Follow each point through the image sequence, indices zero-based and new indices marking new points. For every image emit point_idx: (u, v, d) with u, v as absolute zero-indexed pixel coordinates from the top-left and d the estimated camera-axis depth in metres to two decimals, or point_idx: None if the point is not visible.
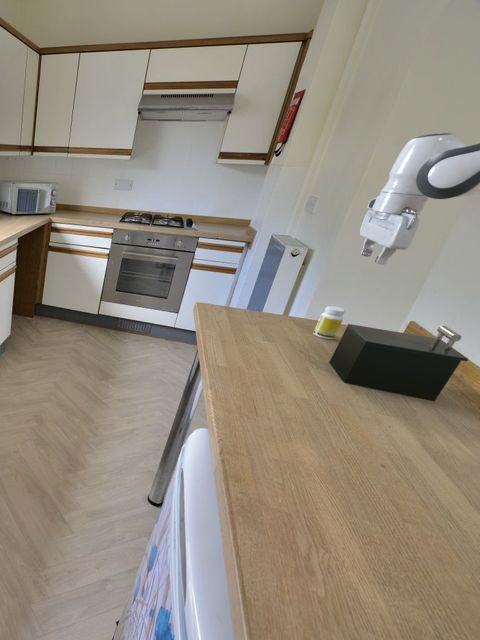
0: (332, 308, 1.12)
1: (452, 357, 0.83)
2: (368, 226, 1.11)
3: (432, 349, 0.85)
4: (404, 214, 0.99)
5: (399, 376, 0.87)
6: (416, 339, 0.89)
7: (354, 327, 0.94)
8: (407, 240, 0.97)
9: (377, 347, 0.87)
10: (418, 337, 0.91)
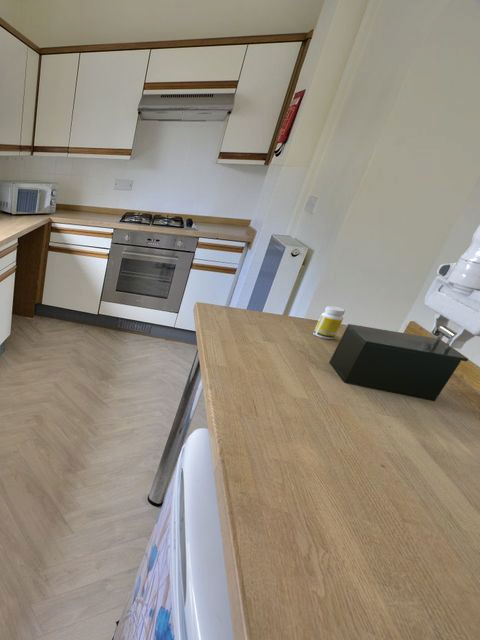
0: (332, 308, 1.12)
1: (452, 357, 0.83)
2: (438, 297, 0.88)
3: (432, 349, 0.85)
4: None
5: (399, 376, 0.87)
6: (416, 339, 0.89)
7: (354, 327, 0.94)
8: None
9: (377, 347, 0.87)
10: (418, 337, 0.91)
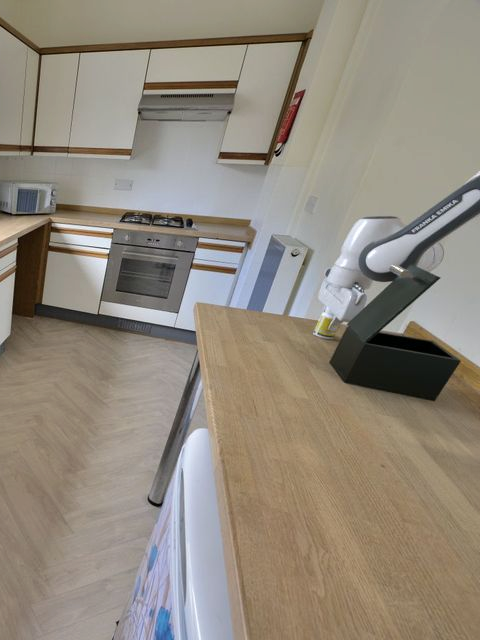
0: None
1: (427, 287, 0.80)
2: (325, 293, 1.16)
3: (410, 293, 0.83)
4: (354, 289, 1.04)
5: (399, 376, 0.87)
6: (395, 288, 0.88)
7: (351, 325, 0.94)
8: None
9: (377, 347, 0.87)
10: (396, 282, 0.88)
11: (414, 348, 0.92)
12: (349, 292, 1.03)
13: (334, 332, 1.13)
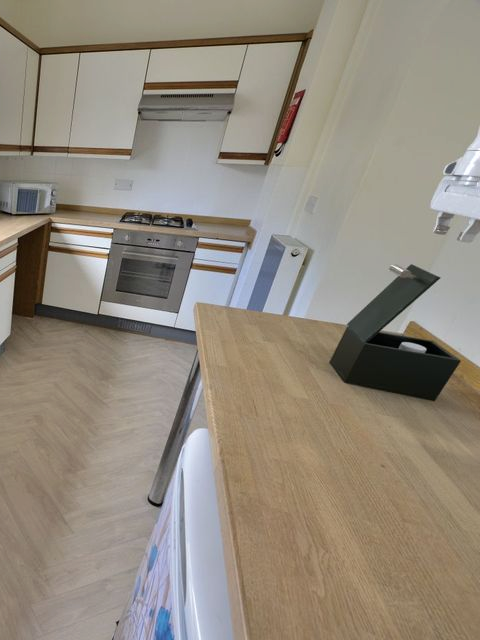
0: (409, 346, 0.89)
1: (427, 287, 0.80)
2: (444, 197, 0.90)
3: (410, 293, 0.83)
4: None
5: (399, 376, 0.87)
6: (395, 288, 0.88)
7: (351, 325, 0.94)
8: None
9: (377, 347, 0.87)
10: (396, 282, 0.88)
11: None
12: None
13: None
